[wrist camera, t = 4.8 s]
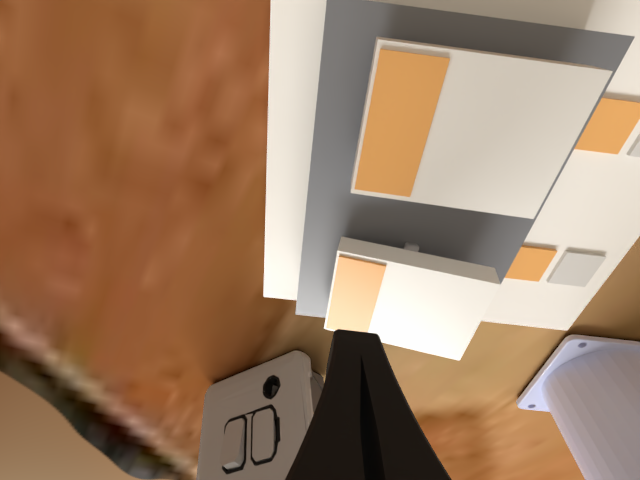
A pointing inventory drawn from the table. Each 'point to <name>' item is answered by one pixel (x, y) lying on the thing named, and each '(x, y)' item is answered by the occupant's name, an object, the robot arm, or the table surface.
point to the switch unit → (439, 221)
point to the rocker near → (469, 126)
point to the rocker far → (409, 297)
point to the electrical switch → (258, 420)
